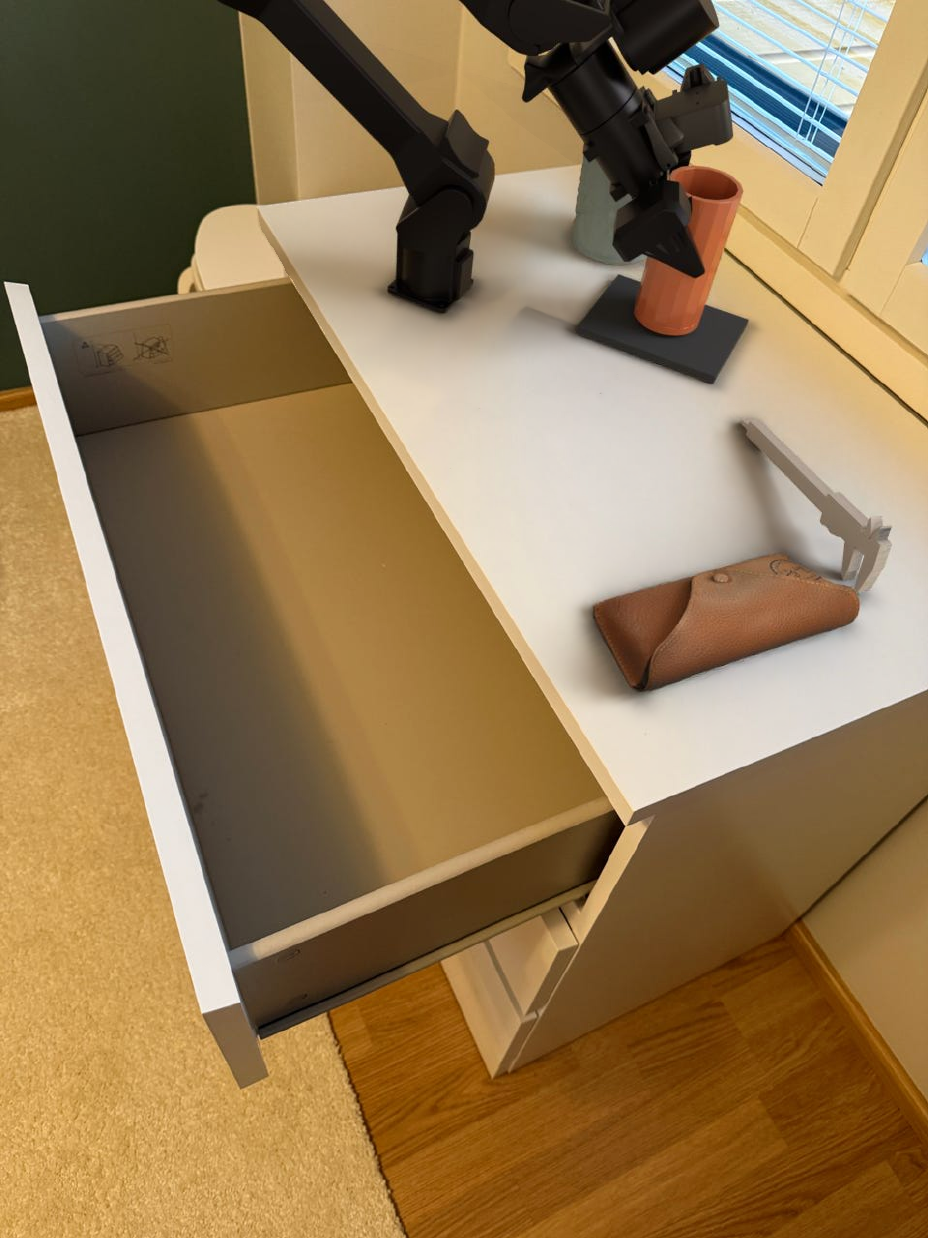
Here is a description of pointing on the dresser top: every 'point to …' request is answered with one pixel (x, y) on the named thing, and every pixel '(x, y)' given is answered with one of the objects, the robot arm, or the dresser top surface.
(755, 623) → the sunglasses case
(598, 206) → the green ceramic pot
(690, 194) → the crock
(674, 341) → the mat
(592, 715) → the dresser top surface
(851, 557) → the caliper
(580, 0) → the robot arm
